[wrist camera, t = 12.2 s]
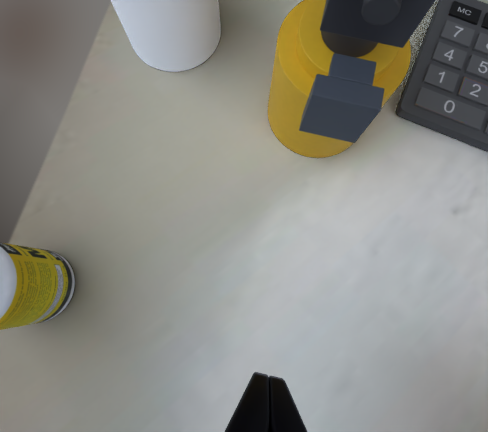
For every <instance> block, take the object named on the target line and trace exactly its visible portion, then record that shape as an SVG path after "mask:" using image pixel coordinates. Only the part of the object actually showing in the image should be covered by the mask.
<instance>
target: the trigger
mask: <svg viewBox="0 0 488 432" xmlns="http://www.w3.org/2000/svg"><path fill="white" fill-rule="evenodd" d="M376 64H377V63H376V62H374V61H369V60H365V59H360V58H355V57H350V56H346V55H341V54H336V53H334V54H333V56H332V59H331V63H330V68H329V73H328V76H325V75H321V74H317V75H316V77H315V80H314V83H313V86H312V88H311V91H310V94H309V97H308V100H307V103H306V105H305V108H304V111H303V114H302V119H301V123H300V128H299V131H303V132H307V133H312V134H316V135H321V136H325V137H330V138H334V139H338V140H343V141H347V142H352V143H355V142H356V140H357V139H358V138H359V137H360V135H361V134H362V133H363V132H364V130H365V129H366V128H367V127H368V125H369V124H370V123H371V122H372V120H373V119H374V118H375V117H376V115H377V114H378V113H379V112H380V110H381V107H382V101H383V95H384V88H381V87H376V86H372V85H373V80H374V75H375V69H376Z"/></svg>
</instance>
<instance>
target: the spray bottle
mask: <svg viewBox="0 0 488 432" xmlns="http://www.w3.org/2000/svg"><path fill="white" fill-rule="evenodd" d="M434 2H435V0H303V1H302V2H300V3H299V4H298V5H297V6H295V7H294V8H293V9H292V10H291V11H290V12H289V14H288V15H287V16H286V18H285V19H284V21H283V23H282V25H281V28H280V31H279V34H278V39H277V46H276V53H275V60H274V68H273V75H272V82H271V89H270V96H269V103H268V119H269V123H270V126H271V129H272V131H273V132H274V134H275V136H276V137H277V138H278V140H279V141H280V142H281V143H282V144H283V145H284V146H286V147H287V148H288V149H290V150H292V151H293V152H295V153H298V154H300V155H303V156H307V157H313V158H323V157H329V156H333V155H336V154H339V153H341V152H343V151H344V150H346V149H347V148H349V147H350V146H351V145H352V144H353V143H352V142H347V141H343V140H338V139H334V138H330V137H325V136H321V135H316V134H312V133H307V132H303V131H299V128H300V123H301V119H302V114H303V111H304V108H305V105H306V103H307V100H308V97H309V94H310V91H311V88H312V86H313V83H314V80H315V77H316V75H317V74H321V75H325V76H328V73H329V68H330V63H331V59H332V56H333V54H334V53H336V54H341V55H346V56H350V57H355V58H360V59H365V60H369V61H374V62H376V63H377V64H376V69H375V75H374V80H373V85H372V86H376V87H381V88H384V95H383V101H382V107H383V105H384V104H385V103H386V101H387V100H388V99H389V98H390V96H391V95H392V94H393V93H394V91H395V90H396V89H397V88H398V86H399V85H400V84H401V82H402V81H403V79H404V77H405V76H406V73H407V71H408V68H409V64H410V58H411V47H410V41H409V38H410V37H411V35H412V34H413V32H414V31H415V30H416V28H417V27H418V25H419V24H420V22H421V21H422V19H423V18H424V16H425V15H426V13H427V12H428V10H429V9H430V7H431V6H432V5H433V3H434ZM382 107H381V108H382Z"/></svg>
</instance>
